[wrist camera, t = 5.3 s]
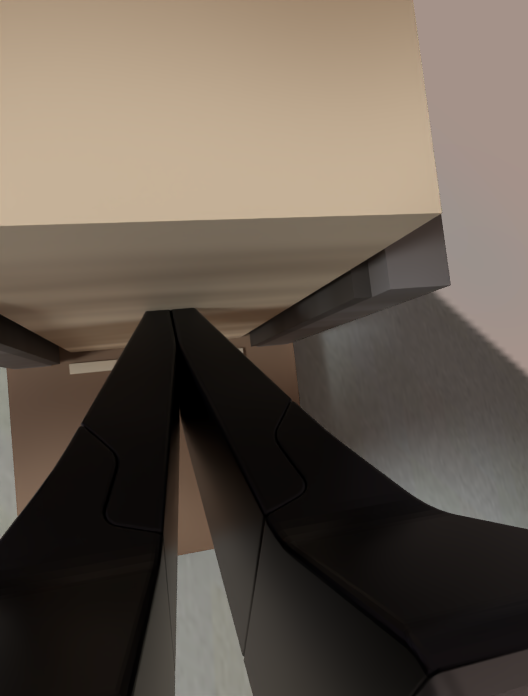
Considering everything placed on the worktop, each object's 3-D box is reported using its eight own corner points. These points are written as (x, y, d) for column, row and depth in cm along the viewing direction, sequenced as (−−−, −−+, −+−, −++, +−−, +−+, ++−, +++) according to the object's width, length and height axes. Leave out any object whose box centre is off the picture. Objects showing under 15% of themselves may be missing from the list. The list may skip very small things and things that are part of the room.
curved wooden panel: (239, 337, 16) (441, 213, 5) (70, 352, 14) (-153, 230, 4) (228, 229, 16) (396, -120, 5) (60, 234, 15) (-177, -202, 4)
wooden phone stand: (302, 520, 17) (519, 697, 7) (32, 569, 15) (-195, 913, 5) (277, 291, 18) (444, 156, 8) (12, 308, 15) (-228, 155, 6)
